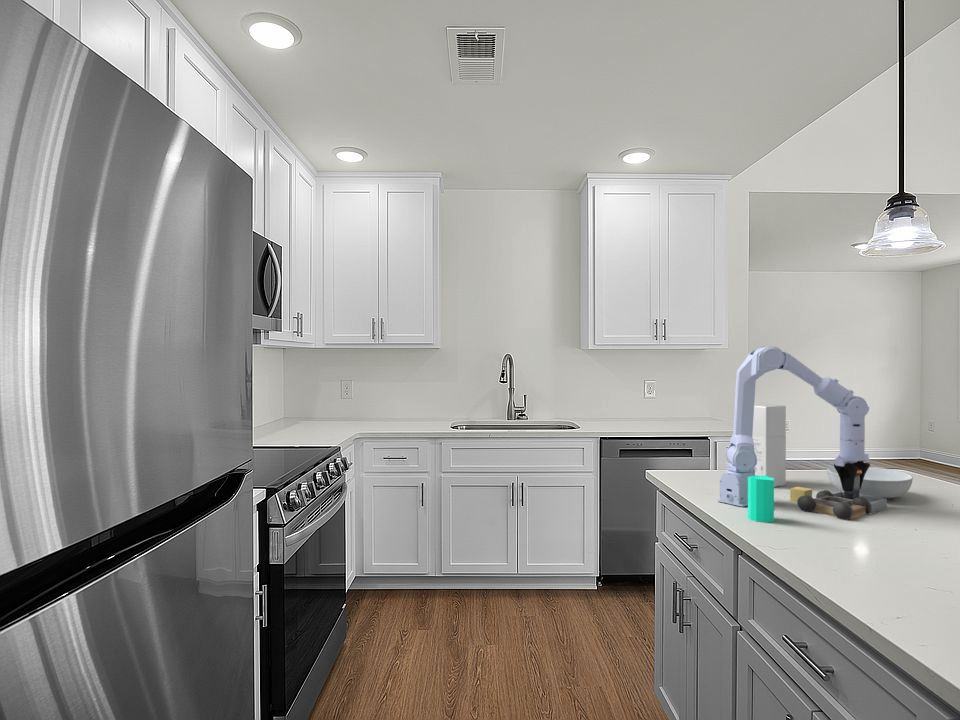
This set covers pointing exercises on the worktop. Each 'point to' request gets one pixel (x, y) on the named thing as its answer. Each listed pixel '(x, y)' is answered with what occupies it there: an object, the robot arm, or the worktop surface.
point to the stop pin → (856, 487)
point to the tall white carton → (770, 441)
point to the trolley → (834, 505)
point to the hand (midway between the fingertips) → (851, 489)
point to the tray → (875, 502)
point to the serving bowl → (878, 482)
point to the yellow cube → (799, 493)
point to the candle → (761, 498)
